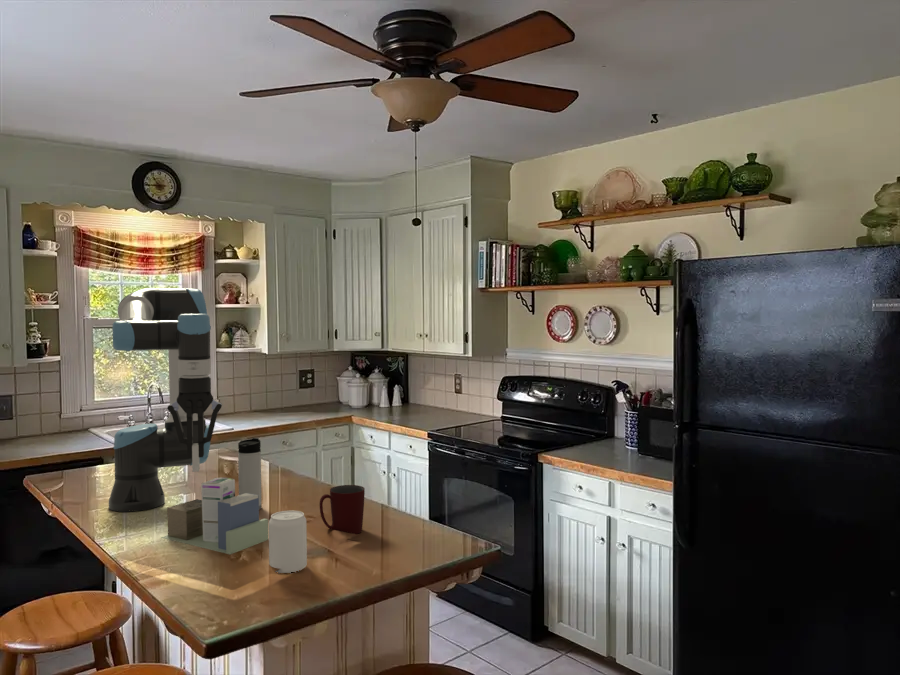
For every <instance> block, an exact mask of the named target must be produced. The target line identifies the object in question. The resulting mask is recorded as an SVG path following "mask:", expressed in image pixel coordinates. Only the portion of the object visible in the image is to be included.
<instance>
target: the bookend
mask: <svg viewBox="0 0 900 675" xmlns="http://www.w3.org/2000/svg"><path fill="white" fill-rule="evenodd" d="M166 510H167V535H168V536H171V537H176V538H180V539H184V540H189V539H192V538H195V537H198V536H201V535H203V519H202V499H192V500H189V501H185V502H182V503H178V504H175V505H171V506H169V507H167V508H166Z"/></svg>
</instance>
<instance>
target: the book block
mask: <svg viewBox="0 0 900 675" xmlns="http://www.w3.org/2000/svg"><path fill="white" fill-rule="evenodd" d="M258 520H260V509H259V495H255V494H249V493H245V494H242V495H239V494H238V495H235V497H232V498H228V499H225V500H222V501H218V548H219V549H223V550H226V532H227V531H230V530H232V529H235V528H238V527H241V526H244V525H247V524H250V523H253V522H256V521H258Z"/></svg>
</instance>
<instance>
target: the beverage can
mask: <svg viewBox="0 0 900 675" xmlns="http://www.w3.org/2000/svg"><path fill="white" fill-rule="evenodd" d="M307 544H308V543H307V518H306V517H305V513H304V512H303V511H301V510H282V511H277V512H274V513H272V514H271V515H270V519H268V563H269V566H270V567H271V568H275V569H277V570H275V571H274V573H276V572H278V573H277V574H280V573H290V574H292V573H291V572H295V573H297V572H296V571H298V572H300V571H301V570H303V569H304V568H306V567H307V565H308V557H307V556H308V552H307V551H308V549H307V547H308V546H307ZM299 570H300V571H299Z"/></svg>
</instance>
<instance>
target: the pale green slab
mask: <svg viewBox="0 0 900 675" xmlns="http://www.w3.org/2000/svg"><path fill="white" fill-rule="evenodd" d="M160 538H161V539H165V540H169V541H174V542H177V543H182V544H185V545H189V546H193V547H197V548H201V549H202V548H203V549H205V550H210V551H215V552H219V553H222V554H225V555H226V554H227V555H233V554H235V553H237V552H240V551H243V550H245V549H247V548H251V547H253V546H256V545H258V544H262V543H263V542H267V541H269V519H268V518H262V519H259V520H258V521H256V522H253V523H250V524H247V525H244V526H241V527H238V528H235V529H232V530H230V531H227V532H226V550H223V549H219V548H218V543H212V542H205V541H203V535H201V536H198V537H195V538H192V539H189V540H184V539H180V538H176V537H171V536H168V534H167V535H165V536H161V537H160Z"/></svg>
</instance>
